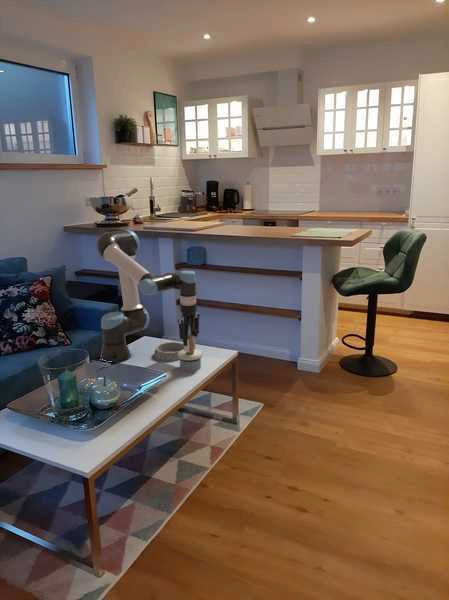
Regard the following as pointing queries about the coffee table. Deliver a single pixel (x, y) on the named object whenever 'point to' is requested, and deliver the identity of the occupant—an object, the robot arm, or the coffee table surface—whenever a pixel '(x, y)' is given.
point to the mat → (162, 367)
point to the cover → (190, 351)
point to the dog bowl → (168, 355)
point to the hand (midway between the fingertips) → (189, 350)
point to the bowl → (190, 365)
